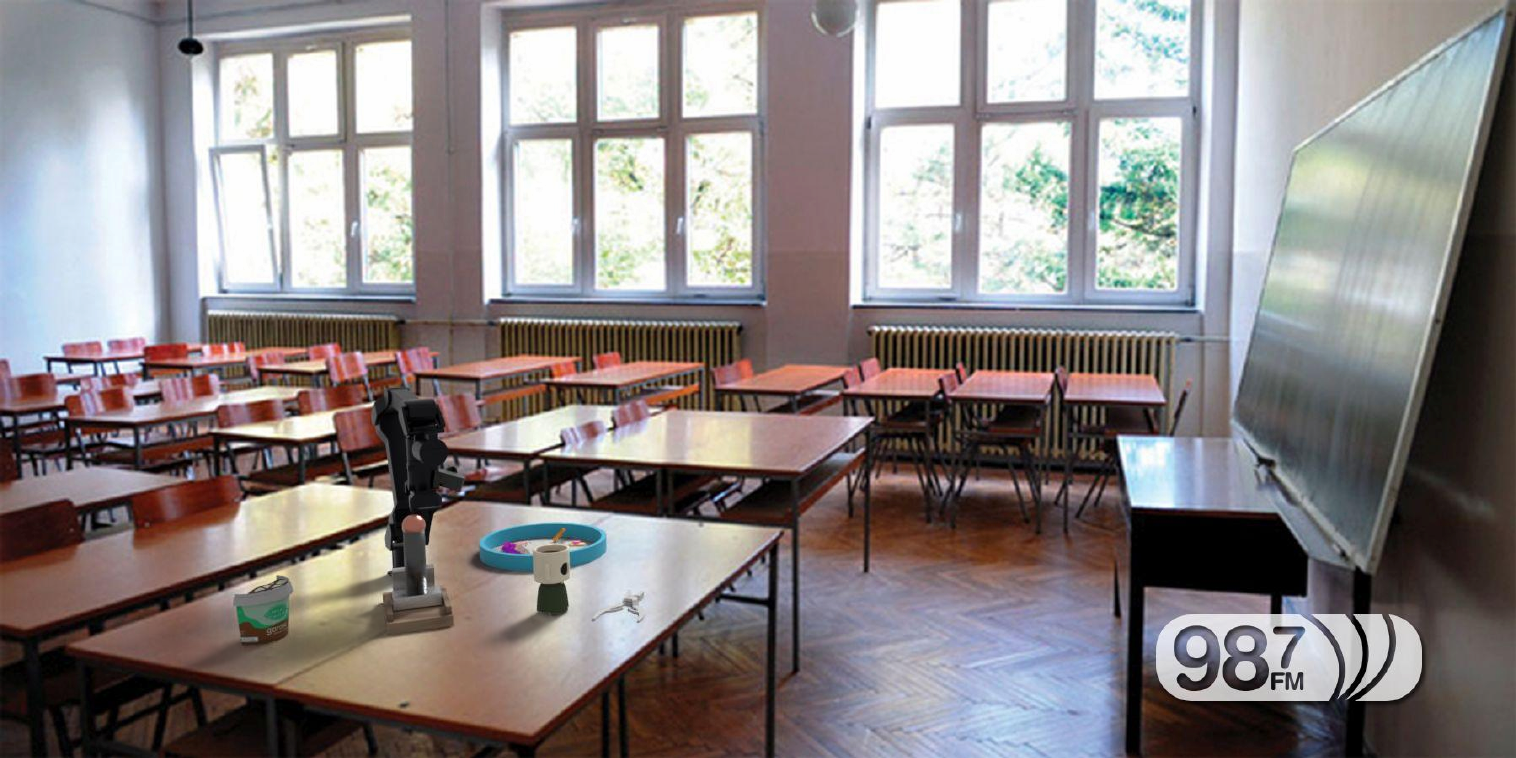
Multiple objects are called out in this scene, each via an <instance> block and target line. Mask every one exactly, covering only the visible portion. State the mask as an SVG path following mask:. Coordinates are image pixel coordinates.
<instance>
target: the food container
mask: <svg viewBox="0 0 1516 758" xmlns="http://www.w3.org/2000/svg"><path fill="white" fill-rule="evenodd" d="M275 578H276V580H273V581H271V582H270V583H267V584H263V585H259V586H256V587H255V588H252V590H250V591H249V592H247V593H234V597H233V603H232V606H233V607H235V608H236V609H235V610H236V617H237V622H238V629H239V636H240V644H241V646H246V647H249V646H250V647H251V646H261V645H266V644H270V643H269V642H271V643H273V641H275V642H278V641H279V640H282V639H284V638H285V637H287V635H289V629H290V628H289V627H290V626H289V625H290V624H289V621H290V597H291V596H290V595H291V594H293V592H294V588H293V585H292V581H290V578H289V577H287V576H284V575H279V574H276V577H275Z"/></svg>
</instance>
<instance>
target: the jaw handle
mask: <svg viewBox="0 0 1516 758" xmlns="http://www.w3.org/2000/svg"><path fill="white" fill-rule="evenodd" d="M425 527H426V524H425V520H424V519H423V518H422V517H421V516H419V515H416V514H413V515H409V516H407V517H406V518H405V519H404V520H403V523H402V530H403V539H404V561H405V583H406V590H398V591H393V590H391V592H392V604H393V611H396V610H404V609H412V608H420V607H427V606H435V605H442V592H441V589H440V586H441V585H438V584H437V585H435V586H430V587H427V570H426V565H427V554H426V553H427V552H426V545H425Z"/></svg>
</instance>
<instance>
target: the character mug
mask: <svg viewBox="0 0 1516 758" xmlns="http://www.w3.org/2000/svg"><path fill="white" fill-rule="evenodd" d="M569 551H570V546H569V545H566V544H562V543H547V544H542V545H538V546H535V547H534V548H533V549H532V554H533V566H534V571H533V581H534V582H536V583H538V584H539V586H538V590H537V591H538V592H537V599H536V611H537V613H542V614H550V615H551V616H552V615H554V614H556V615H558V614H562V613H565V612H567V611H569V608H570V605H569V604H570V603H569V597H568V592H567V587H566V584H565V581H567V580H570V578H571V577H570V576H571V567H570V556H569Z"/></svg>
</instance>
